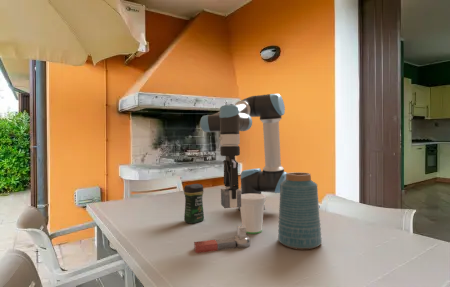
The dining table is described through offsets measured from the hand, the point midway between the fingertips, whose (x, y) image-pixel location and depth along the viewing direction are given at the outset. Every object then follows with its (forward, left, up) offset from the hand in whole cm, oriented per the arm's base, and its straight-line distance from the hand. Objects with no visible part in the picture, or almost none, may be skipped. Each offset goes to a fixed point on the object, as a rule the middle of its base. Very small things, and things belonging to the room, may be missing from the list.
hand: (231, 204), depth 105 cm
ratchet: (+4, +2, -15) cm, 16 cm away
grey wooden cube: (0, 0, 0) cm, 0 cm away
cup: (-13, -12, -15) cm, 23 cm away
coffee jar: (+10, -34, -15) cm, 39 cm away
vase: (-25, +7, -15) cm, 30 cm away
